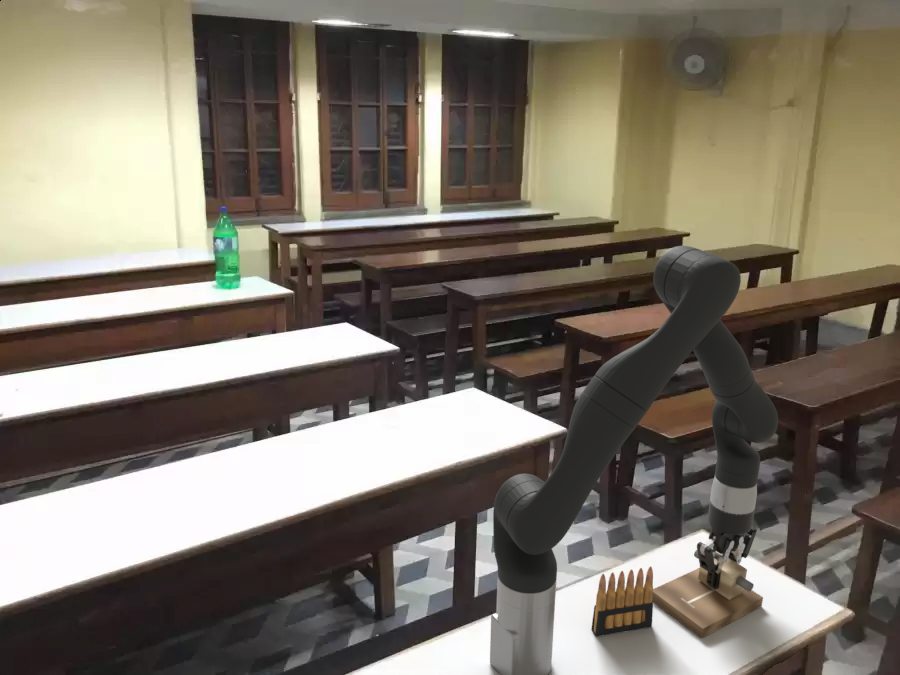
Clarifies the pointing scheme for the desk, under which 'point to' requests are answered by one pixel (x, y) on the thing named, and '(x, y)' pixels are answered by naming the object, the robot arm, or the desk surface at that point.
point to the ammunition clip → (623, 604)
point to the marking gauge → (728, 578)
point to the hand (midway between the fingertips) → (721, 582)
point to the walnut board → (702, 604)
